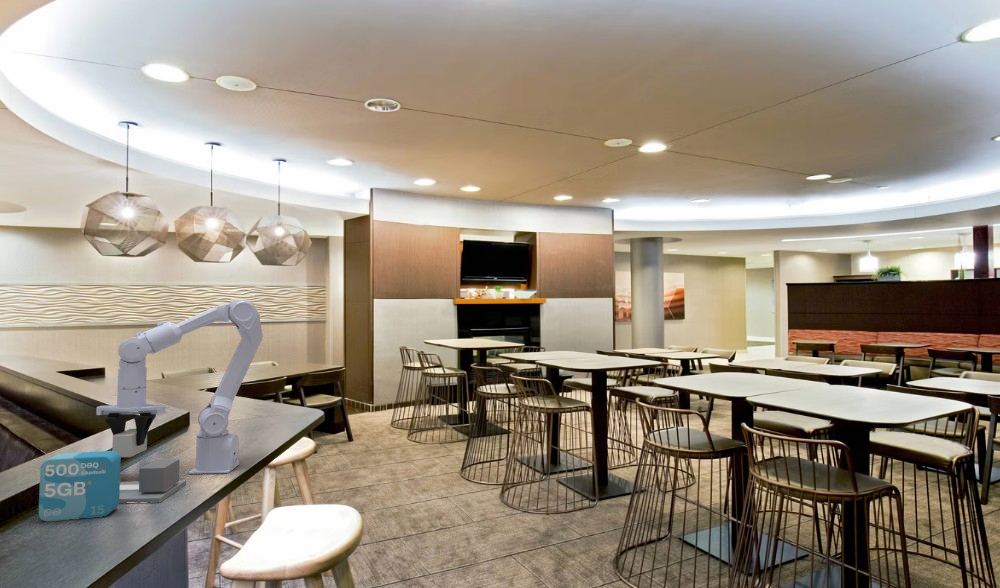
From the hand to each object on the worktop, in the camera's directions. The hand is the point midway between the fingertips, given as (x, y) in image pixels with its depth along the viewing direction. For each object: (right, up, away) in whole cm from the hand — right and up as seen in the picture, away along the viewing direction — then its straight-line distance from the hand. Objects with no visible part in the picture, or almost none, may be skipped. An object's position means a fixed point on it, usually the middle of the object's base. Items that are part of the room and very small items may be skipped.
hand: (130, 444), depth 130 cm
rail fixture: (+6, -8, -10) cm, 14 cm away
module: (0, -2, 0) cm, 2 cm away
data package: (+5, -8, -22) cm, 24 cm away
